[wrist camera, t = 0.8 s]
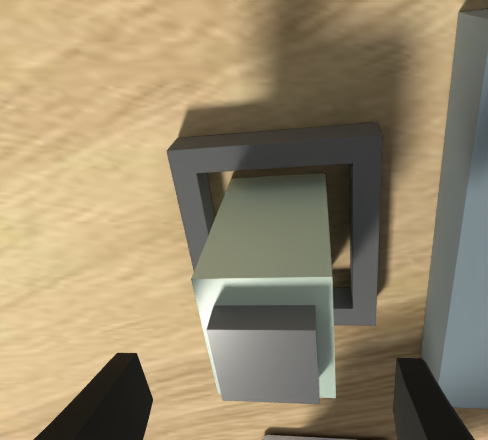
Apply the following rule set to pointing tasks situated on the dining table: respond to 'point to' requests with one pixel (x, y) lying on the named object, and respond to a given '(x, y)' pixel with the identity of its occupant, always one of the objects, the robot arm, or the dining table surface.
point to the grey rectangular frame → (282, 156)
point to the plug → (269, 291)
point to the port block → (462, 229)
